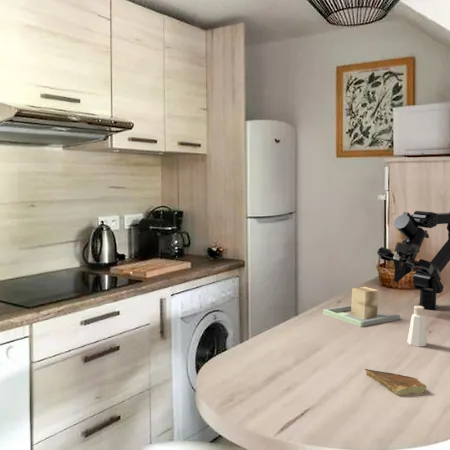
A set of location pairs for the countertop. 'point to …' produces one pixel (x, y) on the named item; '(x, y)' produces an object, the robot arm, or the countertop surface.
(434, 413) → the countertop surface
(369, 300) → the block
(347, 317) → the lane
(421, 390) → the shard
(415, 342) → the salt shaker
